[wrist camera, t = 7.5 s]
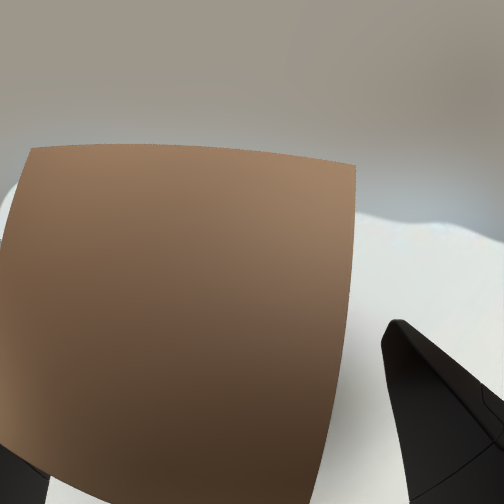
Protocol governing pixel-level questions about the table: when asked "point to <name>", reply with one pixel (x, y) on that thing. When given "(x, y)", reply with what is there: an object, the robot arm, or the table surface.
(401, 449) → the robot arm
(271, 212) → the walnut pillar
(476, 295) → the table surface
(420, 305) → the table surface
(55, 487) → the table surface
